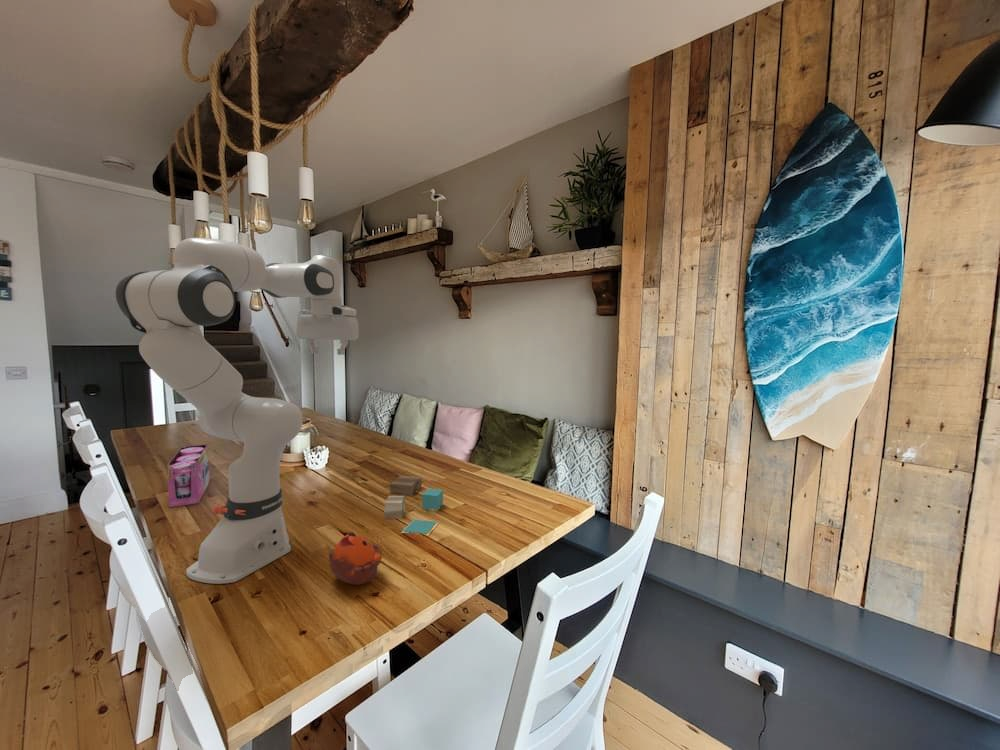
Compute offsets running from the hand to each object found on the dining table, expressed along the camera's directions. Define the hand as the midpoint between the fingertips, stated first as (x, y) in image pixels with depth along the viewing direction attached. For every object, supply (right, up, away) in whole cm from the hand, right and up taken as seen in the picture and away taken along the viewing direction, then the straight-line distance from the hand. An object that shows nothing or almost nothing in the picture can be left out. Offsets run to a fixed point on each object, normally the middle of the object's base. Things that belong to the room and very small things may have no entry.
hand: (327, 354), depth 130 cm
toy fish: (+22, -53, -37) cm, 68 cm away
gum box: (-50, -47, +9) cm, 69 cm away
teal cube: (+33, -49, +1) cm, 59 cm away
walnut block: (+22, -47, +14) cm, 54 cm away
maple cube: (+22, -49, -5) cm, 54 cm away
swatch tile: (+32, -50, -13) cm, 61 cm away
